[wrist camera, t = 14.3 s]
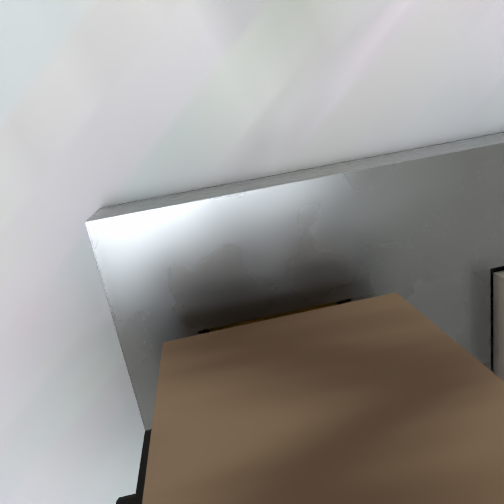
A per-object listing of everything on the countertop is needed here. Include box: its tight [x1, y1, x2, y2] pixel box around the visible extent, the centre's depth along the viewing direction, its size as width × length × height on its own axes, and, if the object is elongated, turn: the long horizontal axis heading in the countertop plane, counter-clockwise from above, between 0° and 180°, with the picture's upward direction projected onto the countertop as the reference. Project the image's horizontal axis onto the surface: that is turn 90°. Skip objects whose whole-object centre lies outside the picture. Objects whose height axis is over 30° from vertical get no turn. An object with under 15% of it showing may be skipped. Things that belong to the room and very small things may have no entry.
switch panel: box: [85, 132, 504, 431], centre depth 15 cm, size 18×12×2 cm, turn 100°
